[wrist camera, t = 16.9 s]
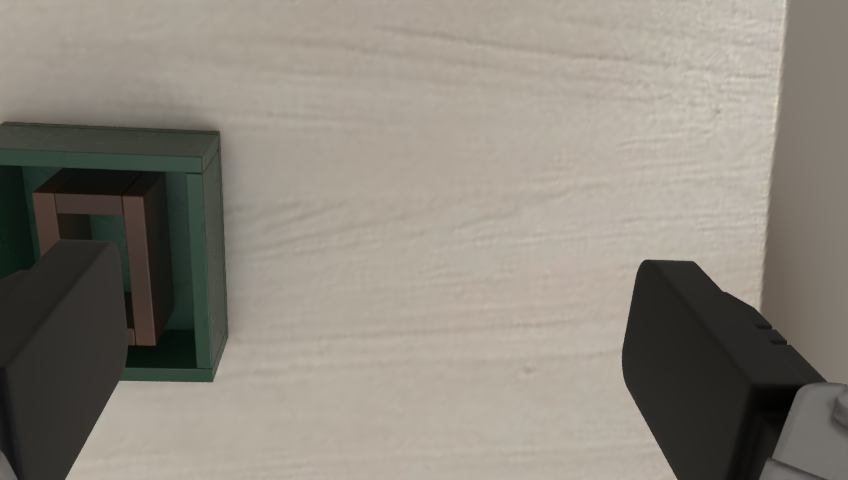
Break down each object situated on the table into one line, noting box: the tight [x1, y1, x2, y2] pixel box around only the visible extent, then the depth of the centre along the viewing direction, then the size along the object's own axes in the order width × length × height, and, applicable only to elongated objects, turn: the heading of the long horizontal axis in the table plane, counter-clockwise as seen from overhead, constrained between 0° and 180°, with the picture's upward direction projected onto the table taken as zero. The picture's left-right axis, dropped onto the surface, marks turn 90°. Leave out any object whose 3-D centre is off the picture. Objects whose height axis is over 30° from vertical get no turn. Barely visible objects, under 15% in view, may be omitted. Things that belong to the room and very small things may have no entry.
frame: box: [32, 168, 174, 346], centre depth 38 cm, size 8×5×4 cm, turn 176°
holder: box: [0, 122, 228, 382], centre depth 39 cm, size 12×11×5 cm
